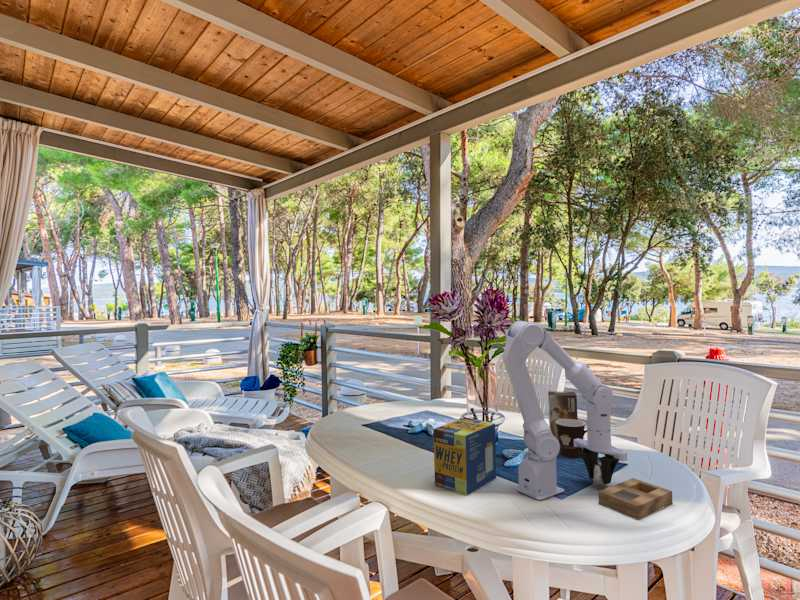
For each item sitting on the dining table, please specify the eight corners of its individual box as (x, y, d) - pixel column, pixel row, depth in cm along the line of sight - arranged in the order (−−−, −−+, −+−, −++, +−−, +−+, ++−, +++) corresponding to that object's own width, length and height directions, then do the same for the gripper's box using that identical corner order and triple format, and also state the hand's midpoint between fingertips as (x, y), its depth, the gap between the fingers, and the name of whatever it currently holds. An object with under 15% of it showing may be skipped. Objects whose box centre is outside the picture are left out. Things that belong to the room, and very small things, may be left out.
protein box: (434, 486, 129) (432, 428, 128) (466, 469, 140) (464, 416, 140) (466, 496, 122) (465, 435, 122) (497, 477, 133) (496, 422, 133)
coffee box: (576, 437, 168) (575, 391, 167) (578, 442, 161) (577, 395, 161) (549, 435, 170) (548, 390, 170) (550, 441, 164) (549, 394, 163)
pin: (601, 490, 123) (601, 466, 123) (591, 486, 126) (590, 463, 126) (608, 487, 125) (608, 464, 125) (598, 483, 127) (598, 461, 127)
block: (638, 519, 107) (637, 506, 107) (598, 503, 115) (598, 491, 115) (672, 503, 114) (672, 491, 114) (632, 489, 123) (632, 478, 123)
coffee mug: (550, 452, 153) (550, 421, 153) (572, 448, 156) (571, 417, 156) (576, 464, 142) (575, 430, 142) (599, 459, 145) (598, 426, 145)
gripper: (634, 432, 121) (635, 485, 121) (584, 420, 133) (585, 468, 134) (617, 437, 117) (618, 492, 117) (568, 424, 130) (569, 474, 130)
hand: (599, 480), depth 125 cm, fingers open, 4 cm apart
